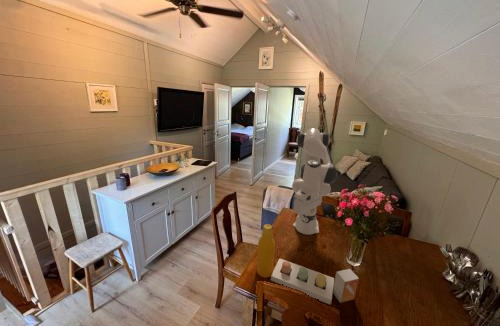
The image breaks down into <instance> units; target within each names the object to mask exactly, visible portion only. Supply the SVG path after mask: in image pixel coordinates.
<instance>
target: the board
mask: <svg viewBox="0 0 500 326" xmlns="http://www.w3.org/2000/svg"><path fill="white" fill-rule="evenodd" d="M285 261H287V262H289V263H290V264H291V270H290V274H288V275H285V274H283V273H282V263H283V262H285ZM301 267H303V268H306V269H307V270H308V276H307V280H306V281H301V280H299V278H298V273H299V268H301ZM318 274H323V273H321V272H319V271H316V270H313V269H310V268H307V267H305V266H303V265H299V264H297V263H293V262H291V261H288V260H285V259H283V258H279V259H278V261H277V262H276V264H275V267H274V268H273V273H272V275H271V276H270V281H272V282H275V283H276V284H279V285H281V286H283V287H286V286H287V287H286V288H288V287H290V288H289V289H291V288H293V289H297V290H300V291H302V292H304V293H306V294H307V295H306V296H308V295H309V296H308V297H311V298H313V299H315V298H316V299H315V300H317V299H319V300H318V301H320V302H323V303H325V304H327V305H330V306H331V305H332V299H333V286H334V281H335V278H334V277H332V276H329V275H328V274H327V275H326V274H325V273H324V274H323V275H324V276H325V277H326V284H325V287H324V288H325V289H324V288H319V287H317V286H316V277H317V275H318ZM282 284H283V285H282ZM293 289H292V290H293Z"/></svg>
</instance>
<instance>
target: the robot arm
mask: <svg viewBox="0 0 500 326" xmlns="http://www.w3.org/2000/svg"><path fill="white" fill-rule="evenodd" d="M330 142H331V137H330V136H329V134H328V133H327V132H320V130H319V129H318V128H315V127H312V128H309V129H308V130H307V131H306V132H305V133H304V132H300V133H299V134H297V138H296V145H297V147H298V148H301V149H303V150H304V156H303V157H304V160H303V165H302V166H301V167H300V176H299V178H296V179H295V180H293V182H292V184H291V188H292V191H293V193H294V198H295V199H294V201H293V212H294V214H297V216H296V218H295V222H294V223H293V224H292V226H293V227H294V228H295V229H296V231H297V232H299V233H301V234H303V235H313V234H319V233H320V229H319V221H318V220H317V207H318V206H321V204H322V203H323V200H322V199H323V197H326V196H327V197H328V195H329V194H330V193H331V190H332V189H331V184H333V183H335V182H336V180H337V178H338V171H337V168H336V166H335V164H334V161H333V158H332V155H331V152H330V149H329V145H330ZM321 160H322V161H323V164H322V163H321Z"/></svg>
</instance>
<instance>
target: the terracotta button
mask: <svg viewBox="0 0 500 326" xmlns="http://www.w3.org/2000/svg"><path fill="white" fill-rule="evenodd" d="M287 261H288V260H285V262H283V263H282V271H281V273H283V274H285V275H288V276H289V275H290V270H291V264H290V263H289V262H290V261H288V262H287Z"/></svg>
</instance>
